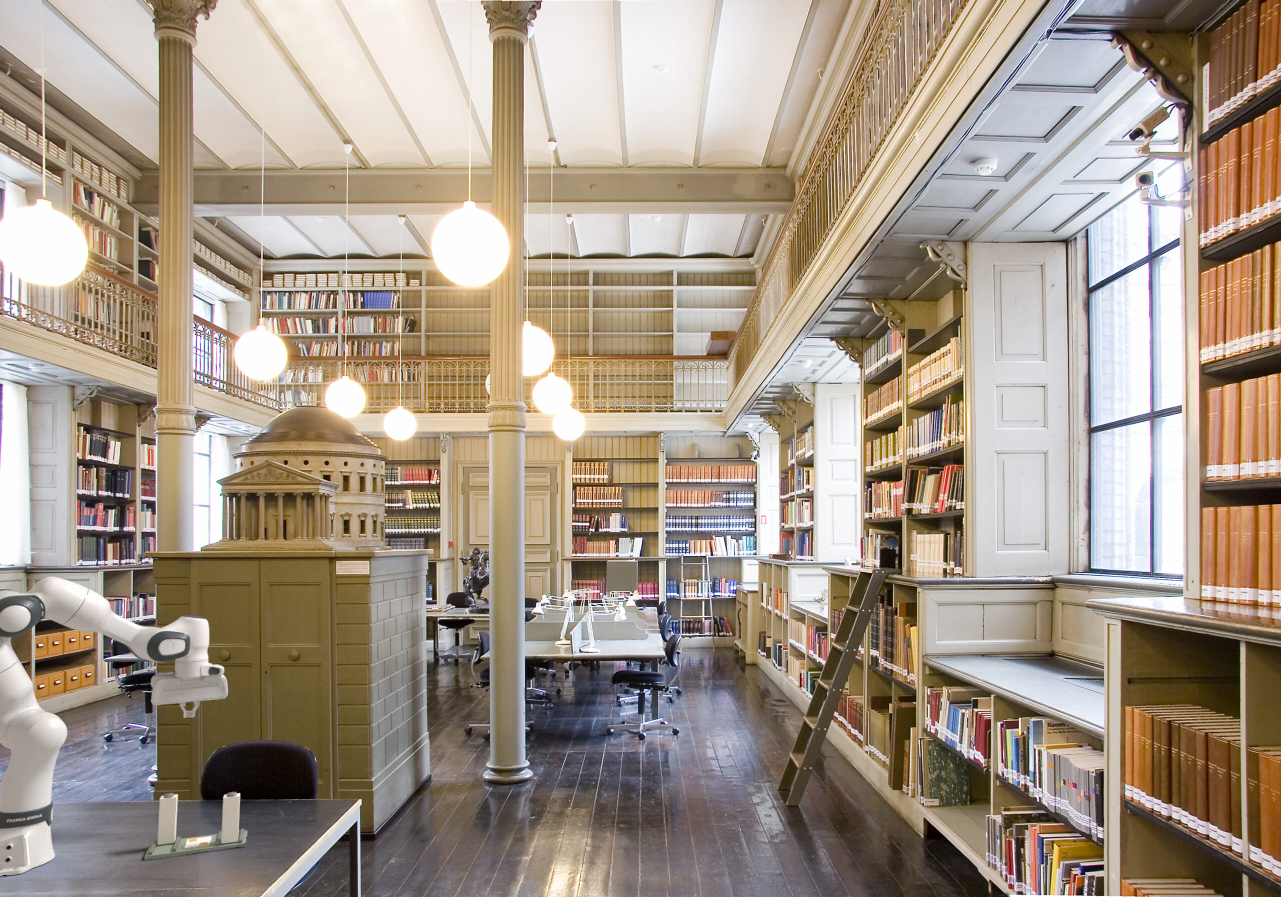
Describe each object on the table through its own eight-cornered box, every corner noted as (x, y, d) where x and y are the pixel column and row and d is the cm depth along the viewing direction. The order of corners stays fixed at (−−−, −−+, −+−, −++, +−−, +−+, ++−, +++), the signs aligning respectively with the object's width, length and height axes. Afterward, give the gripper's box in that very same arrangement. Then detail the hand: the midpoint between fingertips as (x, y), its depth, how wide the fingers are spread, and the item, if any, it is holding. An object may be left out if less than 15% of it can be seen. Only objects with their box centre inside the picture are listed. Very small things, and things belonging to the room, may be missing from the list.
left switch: (159, 841, 230) (161, 793, 231) (175, 839, 231) (178, 792, 232) (157, 845, 227) (160, 796, 228) (174, 842, 228) (176, 795, 230)
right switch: (222, 840, 230) (224, 792, 232) (238, 838, 232) (240, 790, 233) (221, 843, 228) (223, 795, 229) (237, 841, 229) (239, 794, 230)
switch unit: (151, 846, 230) (151, 839, 230) (247, 833, 239) (247, 827, 239) (144, 860, 220) (144, 853, 220) (245, 847, 229) (245, 840, 229)
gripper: (151, 674, 243) (149, 723, 241) (229, 668, 254) (227, 715, 252) (151, 671, 248) (148, 719, 246) (227, 665, 259) (225, 711, 257)
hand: (189, 717), depth 249 cm, fingers closed
